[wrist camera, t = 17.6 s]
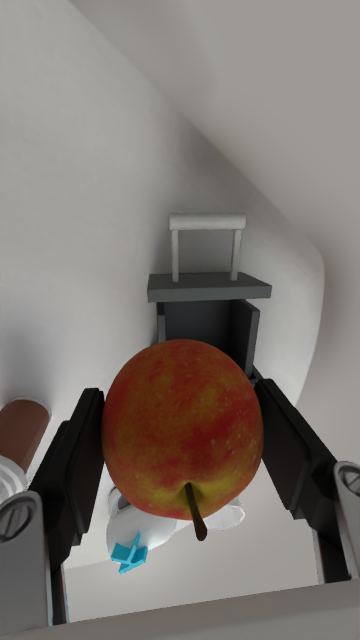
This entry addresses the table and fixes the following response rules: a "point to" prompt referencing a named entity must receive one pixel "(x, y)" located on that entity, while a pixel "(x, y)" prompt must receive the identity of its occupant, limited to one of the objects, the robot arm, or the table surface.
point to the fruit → (181, 431)
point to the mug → (134, 533)
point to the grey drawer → (209, 295)
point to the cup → (226, 516)
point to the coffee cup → (20, 441)
